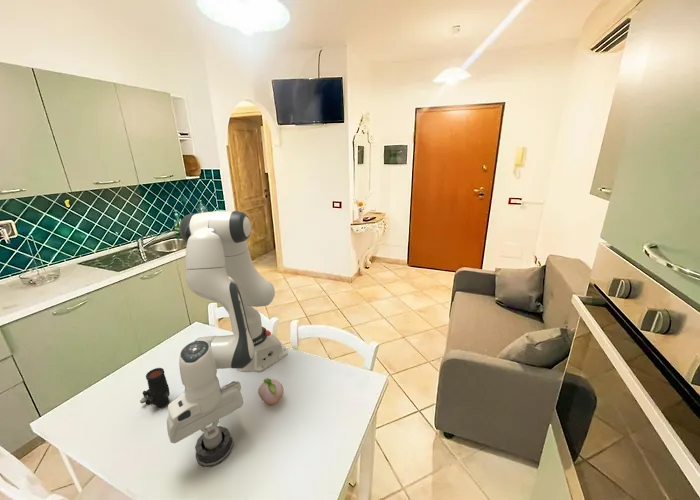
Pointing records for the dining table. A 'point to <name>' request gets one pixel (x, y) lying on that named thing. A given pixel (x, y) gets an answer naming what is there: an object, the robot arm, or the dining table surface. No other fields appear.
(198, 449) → the faceted grey ring
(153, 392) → the scope
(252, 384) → the dining table surface
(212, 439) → the grey cylinder
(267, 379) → the decorative fruit
